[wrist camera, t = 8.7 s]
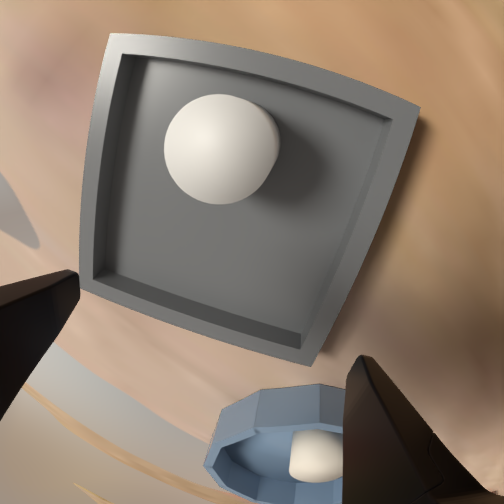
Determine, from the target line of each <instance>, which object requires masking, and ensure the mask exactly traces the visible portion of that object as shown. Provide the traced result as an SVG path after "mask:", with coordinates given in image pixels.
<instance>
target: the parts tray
mask: <svg viewBox="0 0 504 504" xmlns="http://www.w3.org/2000/svg"><path fill="white" fill-rule="evenodd" d="M213 94H225V95H231V96H234V97H238V98H241V99H245V100H248V101H251V102H254V103H256V104H258V105H260V106H261V107H263V108H264V109H265V110H267V111H268V112H269V113H270V115H271V116H272V117H273V119H274V120H275V122H276V124H277V126H278V129H279V132H280V139H281V145H280V151H279V155H278V158H277V160H276V162H275V164H274V166H273V167H272V169H271V171H270V172H269V174H268V176H267V178H266V179H265V181H264V182H263V183H262V185H261V186H260V187H259V188H258V189H257V190H256V191H255V192H254V193H252V194H251V195H249V196H248V197H246V198H244V199H242V200H240V201H237V202H234V203H230V204H209V203H205V202H202V201H199V200H197V199H195V198H193V197H191V196H190V195H188V194H187V193H185V192H184V191H183V190H182V189H181V188H180V187H179V186H178V185H177V184H176V183H175V181H174V180H173V178H172V177H171V175H170V173H169V171H168V168H167V165H166V161H165V156H164V142H165V136H166V133H167V130H168V127H169V125H170V123H171V121H172V120H173V118H174V117H175V115H176V114H177V113H178V112H179V111H180V110H181V109H182V108H183V107H184V106H185V105H187V104H188V103H190V102H191V101H193V100H195V99H197V98H200V97H203V96H207V95H213ZM420 108H421V107H419V106H417V105H415V104H413V103H411V102H408V101H406V100H404V99H402V98H399V97H397V96H395V95H393V94H390V93H388V92H385V91H383V90H381V89H378V88H376V87H373V86H370V85H368V84H365V83H363V82H360V81H357V80H355V79H352V78H349V77H346V76H343V75H340V74H338V73H335V72H332V71H328V70H325V69H322V68H319V67H316V66H313V65H309V64H306V63H302V62H299V61H295V60H292V59H288V58H284V57H280V56H276V55H272V54H268V53H264V52H259V51H255V50H250V49H246V48H241V47H236V46H230V45H225V44H219V43H213V42H207V41H200V40H193V39H185V38H176V37H167V36H156V35H142V34H120V33H110V37H109V40H108V44H107V47H106V51H105V55H104V59H103V63H102V67H101V71H100V76H99V80H98V85H97V89H96V94H95V99H94V105H93V110H92V116H91V122H90V128H89V134H88V141H87V148H86V156H85V165H84V174H83V185H82V197H81V212H80V235H79V280H80V288H81V289H83V290H86V291H88V292H90V293H93V294H95V295H97V296H100V297H102V298H104V299H107V300H109V301H112V302H114V303H117V304H119V305H122V306H124V307H127V308H129V309H132V310H134V311H137V312H140V313H142V314H145V315H147V316H150V317H153V318H155V319H158V320H161V321H164V322H166V323H169V324H172V325H175V326H178V327H180V328H183V329H186V330H189V331H192V332H195V333H198V334H201V335H204V336H207V337H210V338H213V339H216V340H219V341H222V342H225V343H228V344H232V345H235V346H238V347H241V348H245V349H248V350H251V351H255V352H258V353H262V354H265V355H268V356H272V357H276V358H279V359H283V360H286V361H290V362H294V363H298V364H301V365H305V366H309V367H311V366H312V364H313V362H314V361H315V359H316V357H317V355H318V353H319V351H320V349H321V348H322V346H323V344H324V342H325V340H326V338H327V336H328V334H329V332H330V330H331V328H332V326H333V324H334V322H335V320H336V318H337V316H338V314H339V312H340V310H341V308H342V306H343V304H344V302H345V300H346V298H347V296H348V294H349V292H350V290H351V287H352V285H353V283H354V281H355V279H356V277H357V274H358V272H359V270H360V268H361V266H362V263H363V261H364V259H365V257H366V254H367V252H368V250H369V247H370V245H371V243H372V240H373V238H374V236H375V233H376V231H377V229H378V226H379V224H380V221H381V219H382V216H383V214H384V211H385V209H386V206H387V204H388V201H389V198H390V196H391V193H392V191H393V188H394V185H395V183H396V180H397V177H398V174H399V172H400V169H401V166H402V163H403V160H404V157H405V155H406V152H407V149H408V146H409V143H410V140H411V137H412V134H413V130H414V127H415V124H416V121H417V118H418V114H419V111H420Z"/></svg>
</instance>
